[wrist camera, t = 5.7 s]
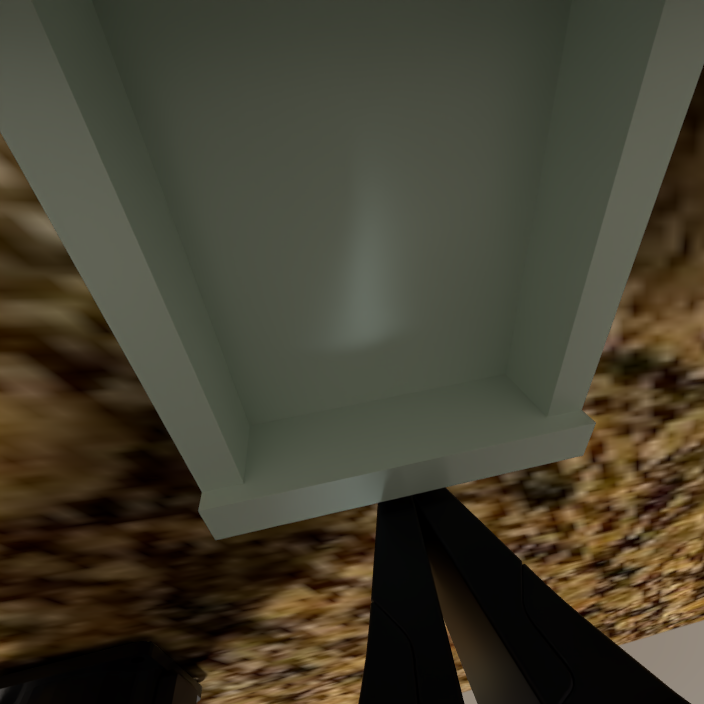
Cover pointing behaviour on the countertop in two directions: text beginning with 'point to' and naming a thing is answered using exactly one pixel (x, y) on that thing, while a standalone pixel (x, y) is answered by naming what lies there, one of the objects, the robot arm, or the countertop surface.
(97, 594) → the countertop surface
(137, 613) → the countertop surface
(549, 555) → the countertop surface
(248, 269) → the tray shell
